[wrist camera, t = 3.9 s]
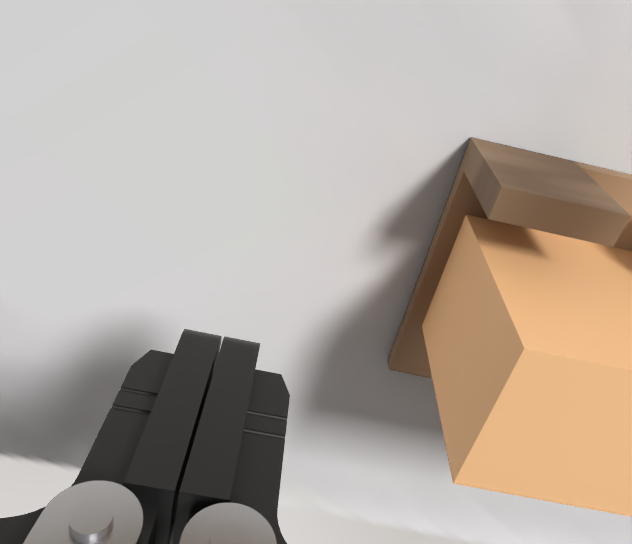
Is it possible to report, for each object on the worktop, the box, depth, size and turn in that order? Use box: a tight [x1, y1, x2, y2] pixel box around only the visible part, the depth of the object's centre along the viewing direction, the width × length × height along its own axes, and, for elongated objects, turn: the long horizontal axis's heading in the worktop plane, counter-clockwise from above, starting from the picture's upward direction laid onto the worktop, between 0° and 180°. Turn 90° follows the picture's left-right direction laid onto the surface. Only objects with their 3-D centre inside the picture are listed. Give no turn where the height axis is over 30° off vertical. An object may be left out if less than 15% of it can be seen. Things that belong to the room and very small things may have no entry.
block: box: [422, 215, 632, 517], centre depth 14 cm, size 7×4×6 cm, turn 78°
